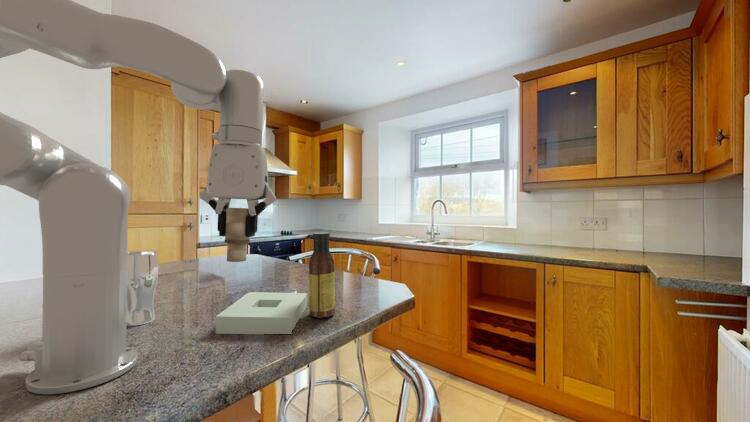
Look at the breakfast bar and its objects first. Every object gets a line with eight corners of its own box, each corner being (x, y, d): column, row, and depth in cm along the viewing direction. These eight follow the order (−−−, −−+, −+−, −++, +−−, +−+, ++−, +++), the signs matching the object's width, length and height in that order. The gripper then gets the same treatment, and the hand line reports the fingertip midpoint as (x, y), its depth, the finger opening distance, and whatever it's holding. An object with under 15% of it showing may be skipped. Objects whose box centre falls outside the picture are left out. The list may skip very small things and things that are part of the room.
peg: (219, 261, 58) (221, 207, 58) (229, 258, 63) (231, 207, 63) (243, 262, 59) (245, 208, 59) (252, 258, 63) (254, 208, 63)
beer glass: (111, 323, 68) (112, 253, 68) (146, 313, 74) (148, 249, 74) (128, 329, 65) (129, 256, 65) (164, 319, 71) (165, 252, 71)
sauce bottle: (337, 311, 79) (339, 232, 79) (331, 320, 73) (333, 234, 73) (311, 310, 80) (313, 231, 80) (303, 318, 74) (305, 233, 73)
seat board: (215, 333, 64) (215, 316, 64) (248, 305, 82) (248, 292, 82) (290, 334, 64) (290, 317, 64) (307, 306, 82) (307, 293, 82)
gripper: (184, 133, 57) (181, 236, 57) (280, 137, 57) (276, 239, 57) (206, 142, 64) (202, 232, 64) (290, 145, 65) (286, 235, 65)
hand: (237, 234), depth 61 cm, fingers closed on peg, 4 cm apart
